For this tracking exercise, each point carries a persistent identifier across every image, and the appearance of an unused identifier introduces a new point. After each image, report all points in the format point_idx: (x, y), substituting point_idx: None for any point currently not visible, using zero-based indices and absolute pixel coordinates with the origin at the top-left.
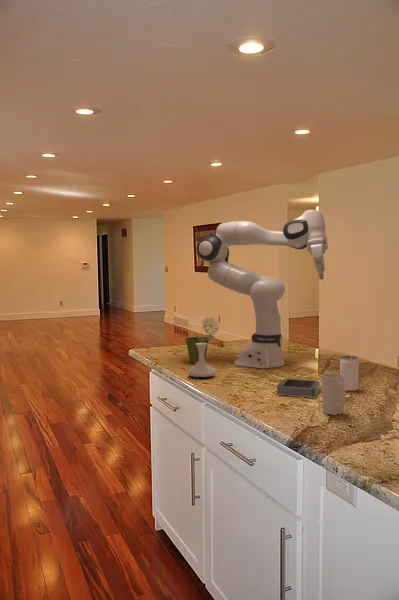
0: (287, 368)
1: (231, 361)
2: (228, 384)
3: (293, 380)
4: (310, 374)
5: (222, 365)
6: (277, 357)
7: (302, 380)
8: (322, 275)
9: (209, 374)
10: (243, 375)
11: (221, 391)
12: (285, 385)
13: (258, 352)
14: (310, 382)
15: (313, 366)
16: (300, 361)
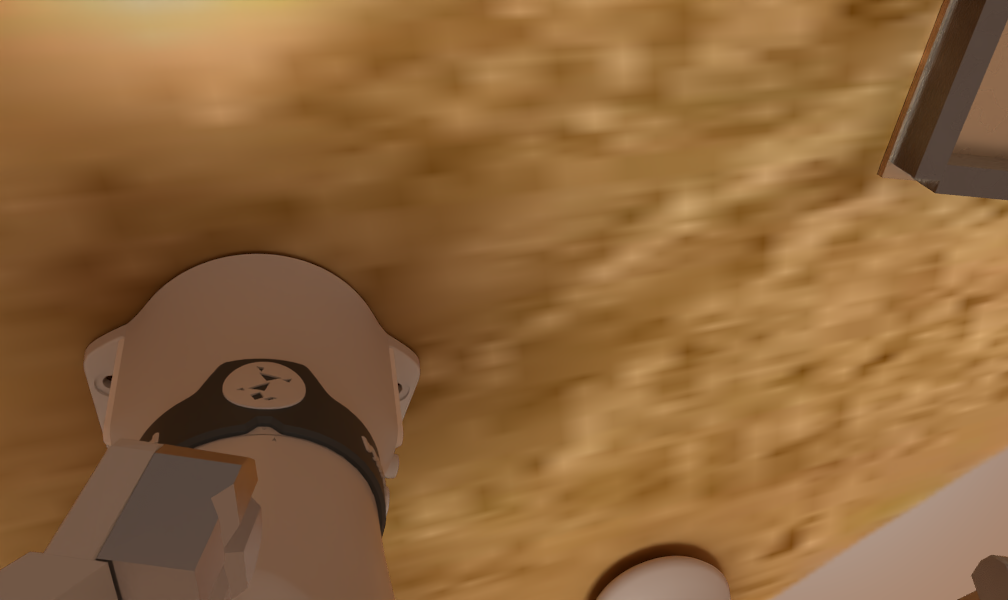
0: (370, 213)
1: None
2: (820, 446)
3: (959, 129)
4: (559, 24)
5: None
6: (334, 327)
7: (979, 73)
8: (217, 556)
9: (716, 570)
10: (617, 430)
11: (947, 439)
12: (996, 164)
13: (395, 470)
14: (1002, 16)
15: (243, 10)
16: (44, 140)
